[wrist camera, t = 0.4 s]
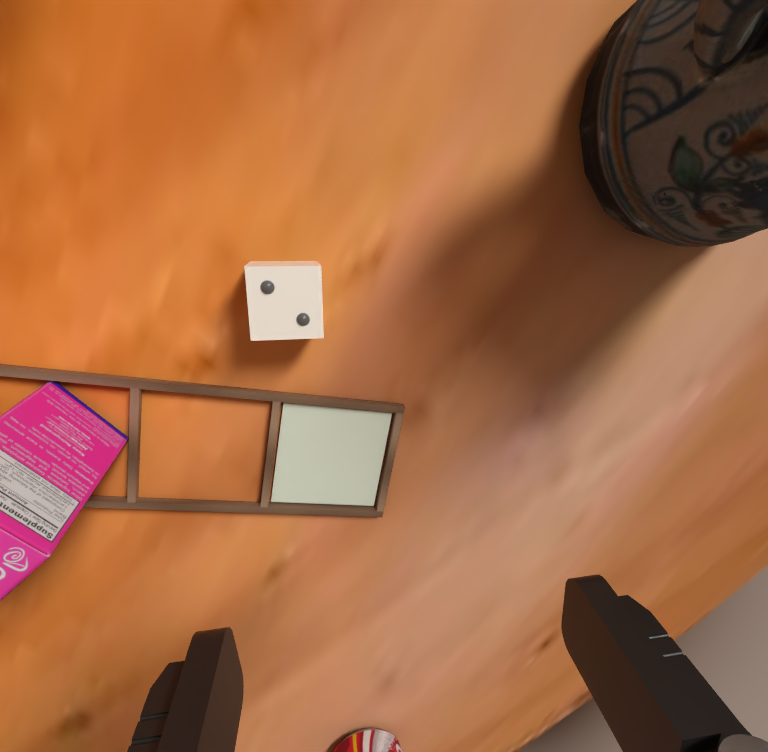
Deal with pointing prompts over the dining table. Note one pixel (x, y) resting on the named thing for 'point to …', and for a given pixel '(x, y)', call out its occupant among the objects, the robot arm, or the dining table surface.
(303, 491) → the tile
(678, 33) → the beer stein
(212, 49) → the dining table surface
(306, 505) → the brown frame
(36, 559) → the supplement box
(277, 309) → the die
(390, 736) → the soda can
